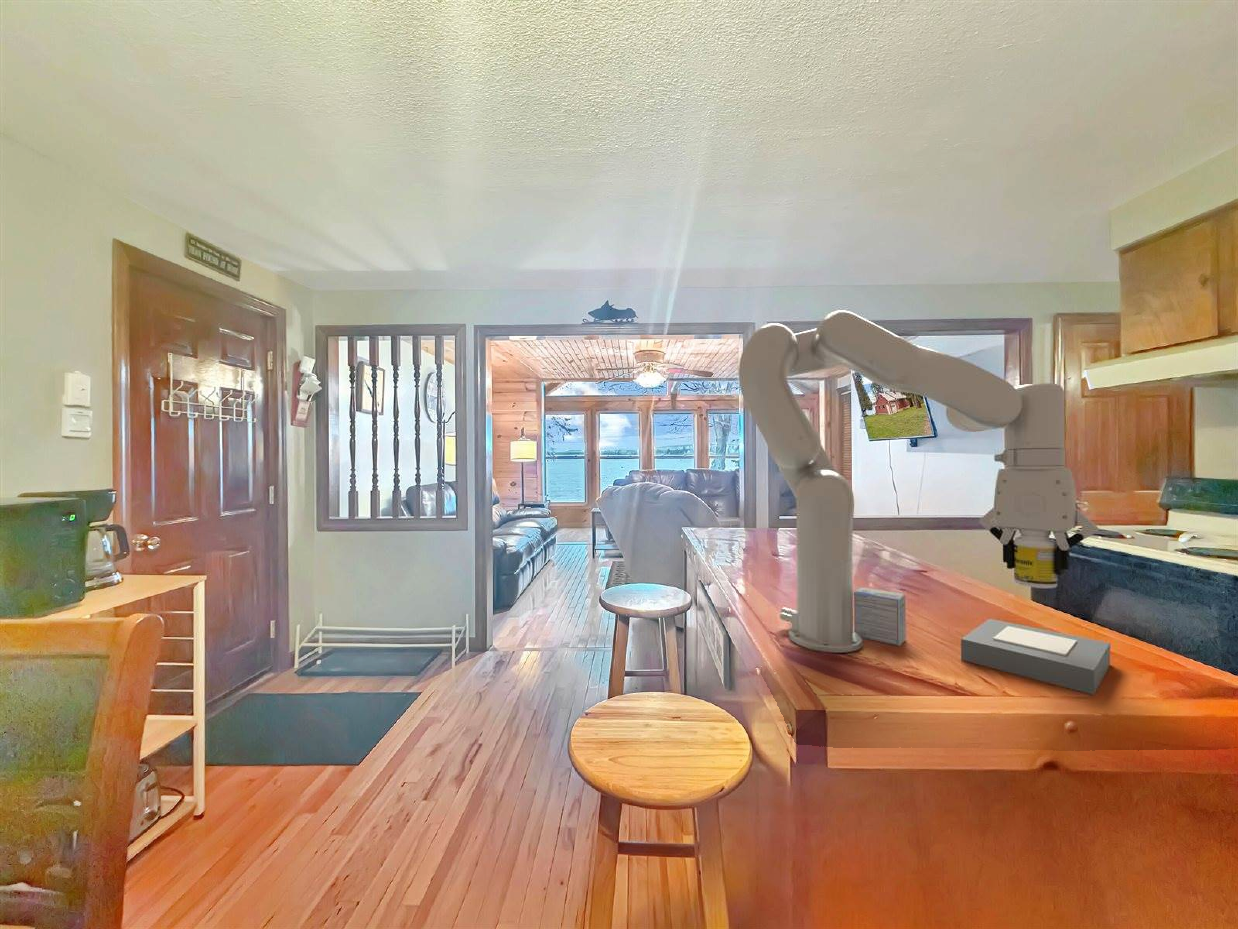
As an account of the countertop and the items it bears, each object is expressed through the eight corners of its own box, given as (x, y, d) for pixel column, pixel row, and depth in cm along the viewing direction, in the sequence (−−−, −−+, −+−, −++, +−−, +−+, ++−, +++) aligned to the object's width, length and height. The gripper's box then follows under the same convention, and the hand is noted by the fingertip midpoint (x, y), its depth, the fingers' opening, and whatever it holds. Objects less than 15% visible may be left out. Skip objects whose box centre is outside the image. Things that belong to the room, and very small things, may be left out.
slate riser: (961, 659, 81) (961, 637, 81) (989, 637, 92) (989, 617, 91) (1094, 695, 69) (1094, 668, 69) (1110, 664, 79) (1110, 641, 79)
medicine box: (906, 640, 90) (906, 593, 90) (900, 647, 87) (900, 598, 87) (860, 630, 96) (860, 586, 96) (853, 636, 93) (853, 591, 93)
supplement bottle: (1006, 580, 83) (1006, 522, 83) (1041, 581, 82) (1041, 523, 82) (1028, 588, 78) (1028, 527, 78) (1066, 589, 77) (1066, 527, 77)
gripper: (964, 461, 84) (966, 565, 84) (1103, 459, 71) (1105, 584, 71) (978, 460, 89) (979, 560, 89) (1111, 459, 76) (1112, 576, 76)
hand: (1035, 569), depth 80 cm, fingers closed on supplement bottle, 5 cm apart
